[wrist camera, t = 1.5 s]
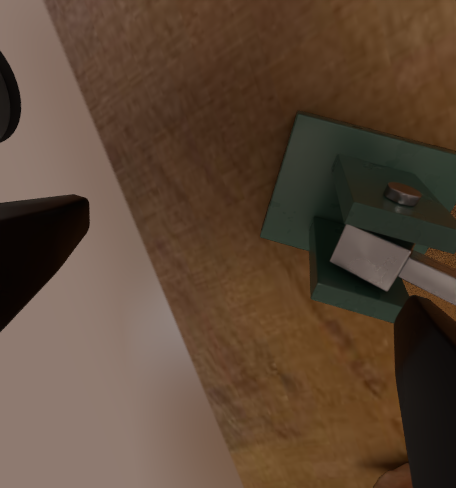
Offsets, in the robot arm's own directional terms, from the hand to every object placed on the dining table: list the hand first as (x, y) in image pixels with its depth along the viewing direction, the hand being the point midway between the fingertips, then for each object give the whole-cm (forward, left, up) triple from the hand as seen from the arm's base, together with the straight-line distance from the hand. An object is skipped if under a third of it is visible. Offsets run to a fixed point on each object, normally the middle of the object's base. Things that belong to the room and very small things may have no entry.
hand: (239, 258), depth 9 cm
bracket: (+1, -6, -13) cm, 15 cm away
